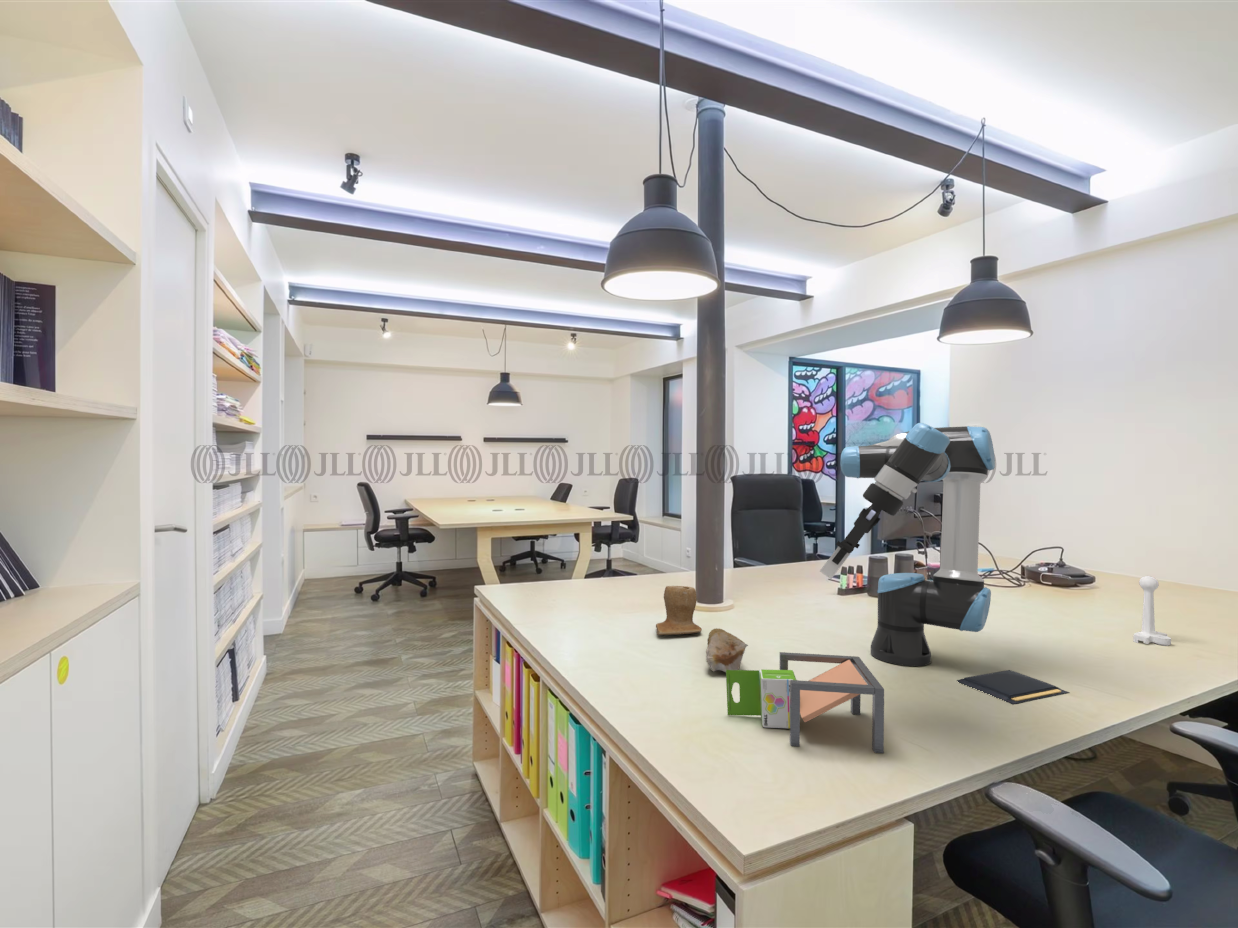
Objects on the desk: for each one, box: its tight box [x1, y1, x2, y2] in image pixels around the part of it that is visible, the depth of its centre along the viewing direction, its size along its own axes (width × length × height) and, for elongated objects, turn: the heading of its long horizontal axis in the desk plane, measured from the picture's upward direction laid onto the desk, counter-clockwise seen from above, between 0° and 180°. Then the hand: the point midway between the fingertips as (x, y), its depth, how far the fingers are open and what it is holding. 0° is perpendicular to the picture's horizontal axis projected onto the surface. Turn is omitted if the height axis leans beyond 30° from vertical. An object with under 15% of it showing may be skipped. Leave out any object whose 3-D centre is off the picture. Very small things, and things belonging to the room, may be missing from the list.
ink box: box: [725, 669, 797, 729], centre depth 119 cm, size 10×5×14 cm
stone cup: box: [655, 585, 702, 636], centre depth 181 cm, size 15×12×15 cm
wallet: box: [956, 669, 1071, 705], centre depth 139 cm, size 20×2×15 cm
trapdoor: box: [800, 660, 868, 723], centre depth 116 cm, size 14×14×1 cm
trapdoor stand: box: [778, 651, 885, 754], centre depth 116 cm, size 17×18×12 cm
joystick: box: [1132, 575, 1172, 647], centre depth 174 cm, size 11×8×20 cm
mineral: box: [705, 627, 749, 673], centre depth 157 cm, size 26×9×10 cm
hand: (828, 570), depth 125 cm, fingers open, 13 cm apart
